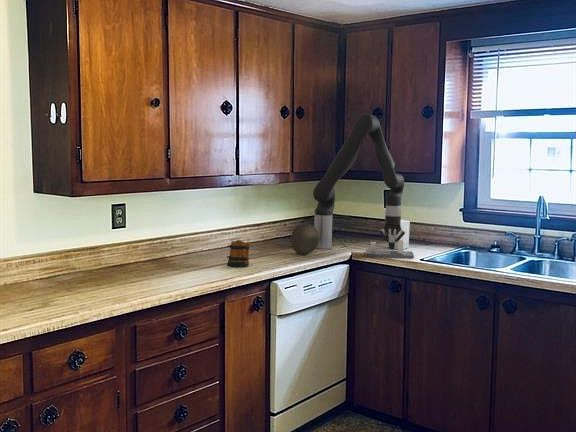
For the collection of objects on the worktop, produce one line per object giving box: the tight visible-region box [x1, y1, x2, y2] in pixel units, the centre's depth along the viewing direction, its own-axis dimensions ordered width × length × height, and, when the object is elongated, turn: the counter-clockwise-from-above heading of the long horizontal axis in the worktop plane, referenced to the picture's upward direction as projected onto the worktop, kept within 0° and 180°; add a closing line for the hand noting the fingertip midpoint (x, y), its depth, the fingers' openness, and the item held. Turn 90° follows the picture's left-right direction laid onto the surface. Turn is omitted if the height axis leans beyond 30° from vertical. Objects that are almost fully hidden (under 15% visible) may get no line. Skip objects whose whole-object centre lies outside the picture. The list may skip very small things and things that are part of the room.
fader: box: [397, 240, 404, 253], centre depth 314 cm, size 2×3×6 cm
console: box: [365, 241, 415, 259], centre depth 315 cm, size 23×12×6 cm, turn 83°
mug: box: [226, 239, 251, 269], centre depth 280 cm, size 13×10×12 cm
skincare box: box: [391, 219, 411, 250], centre depth 336 cm, size 8×6×15 cm
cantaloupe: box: [290, 223, 320, 256], centre depth 311 cm, size 14×14×15 cm
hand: (391, 249), depth 314 cm, fingers closed
